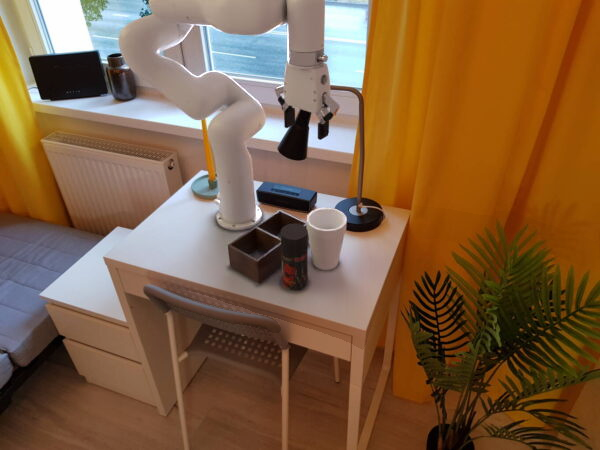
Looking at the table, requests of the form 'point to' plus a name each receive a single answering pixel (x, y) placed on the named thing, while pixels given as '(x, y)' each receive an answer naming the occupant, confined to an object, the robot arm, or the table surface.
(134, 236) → the table surface
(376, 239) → the table surface
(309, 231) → the foam cup
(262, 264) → the organiser
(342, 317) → the table surface
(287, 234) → the deodorant
